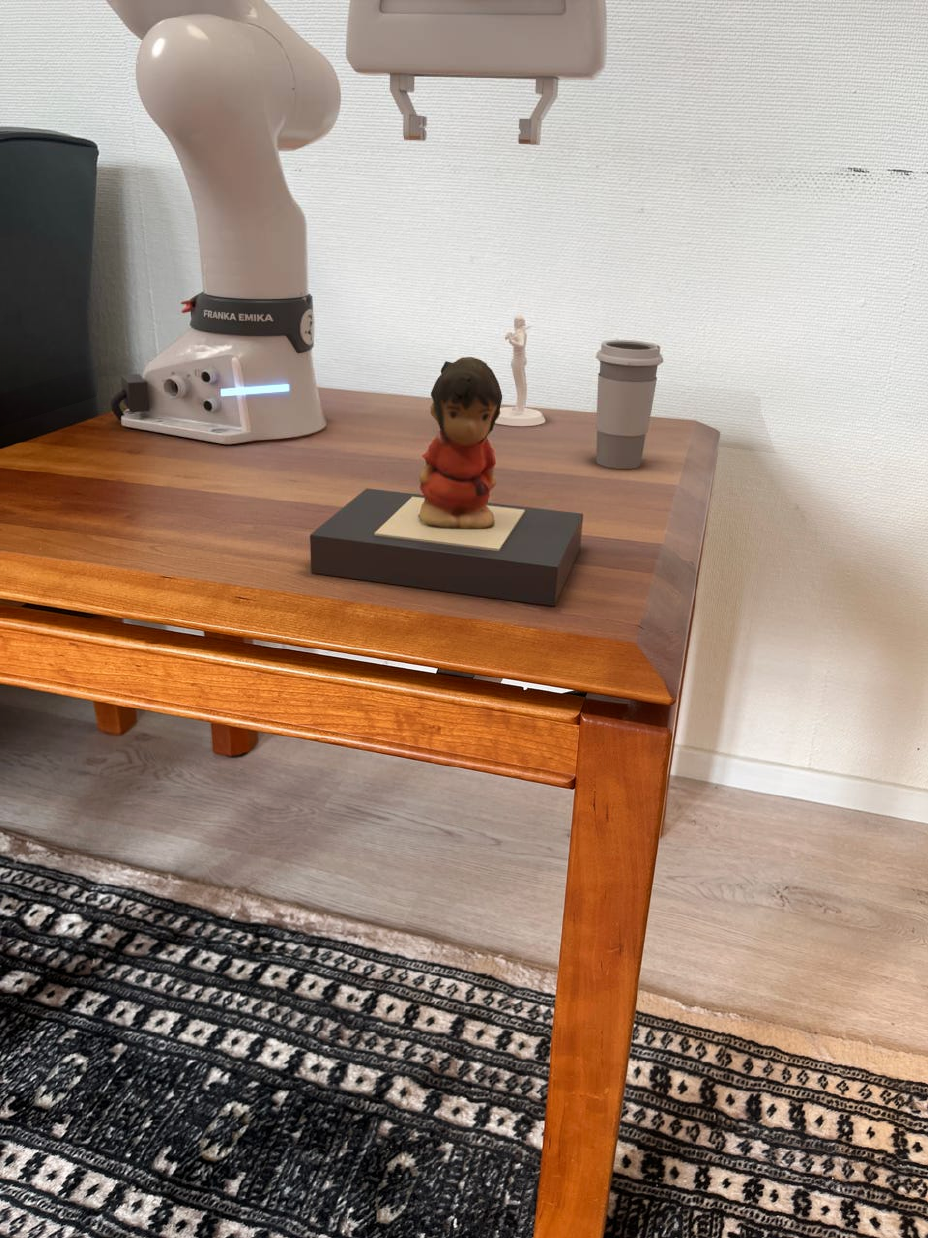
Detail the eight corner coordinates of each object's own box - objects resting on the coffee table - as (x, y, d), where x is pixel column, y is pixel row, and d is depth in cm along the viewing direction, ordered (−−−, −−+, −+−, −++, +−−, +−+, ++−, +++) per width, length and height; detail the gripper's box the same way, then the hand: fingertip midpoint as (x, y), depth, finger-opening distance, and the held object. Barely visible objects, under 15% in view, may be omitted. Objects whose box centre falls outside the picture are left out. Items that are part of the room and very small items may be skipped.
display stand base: (310, 573, 72) (309, 531, 70) (366, 522, 82) (366, 485, 81) (554, 606, 68) (558, 563, 67) (580, 549, 79) (583, 510, 77)
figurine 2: (491, 410, 122) (496, 309, 117) (548, 414, 121) (556, 313, 116) (481, 423, 116) (486, 317, 111) (541, 428, 115) (549, 321, 110)
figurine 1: (400, 515, 75) (402, 352, 70) (458, 502, 78) (464, 347, 73) (451, 539, 70) (458, 367, 65) (510, 525, 73) (521, 361, 68)
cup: (649, 475, 99) (664, 352, 94) (582, 469, 100) (594, 347, 95) (651, 457, 105) (665, 341, 100) (589, 451, 106) (599, 336, 101)
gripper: (331, -73, 73) (334, 136, 78) (609, -76, 68) (591, 145, 74) (361, -55, 78) (361, 139, 84) (619, -57, 74) (601, 148, 80)
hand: (471, 142), depth 79 cm, fingers open, 8 cm apart
